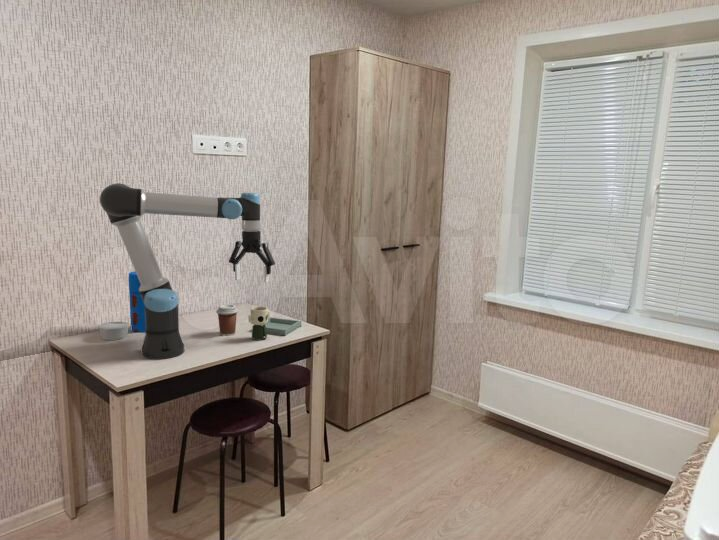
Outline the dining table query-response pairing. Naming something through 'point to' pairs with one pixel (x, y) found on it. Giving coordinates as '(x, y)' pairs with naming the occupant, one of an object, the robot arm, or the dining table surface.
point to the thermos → (136, 304)
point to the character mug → (259, 321)
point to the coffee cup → (227, 319)
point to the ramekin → (114, 330)
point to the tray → (281, 326)
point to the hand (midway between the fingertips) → (252, 280)
